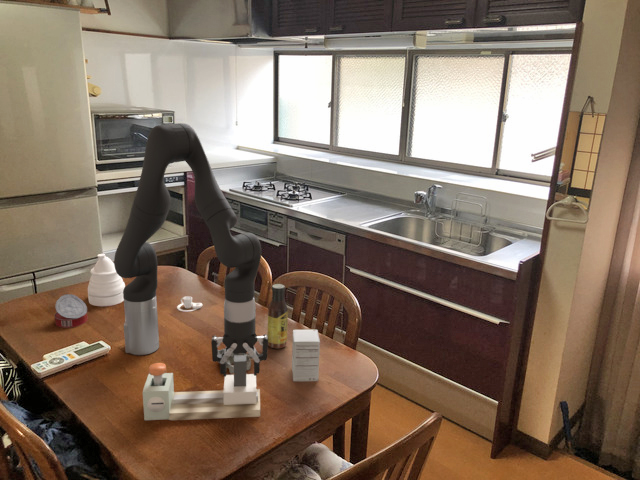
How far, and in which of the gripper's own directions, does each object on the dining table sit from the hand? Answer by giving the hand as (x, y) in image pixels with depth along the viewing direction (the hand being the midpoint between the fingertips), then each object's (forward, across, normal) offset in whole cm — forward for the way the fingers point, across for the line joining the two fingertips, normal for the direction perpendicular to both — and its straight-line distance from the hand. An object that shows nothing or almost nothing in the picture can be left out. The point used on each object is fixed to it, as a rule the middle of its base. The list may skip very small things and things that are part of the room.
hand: (240, 374), depth 131 cm
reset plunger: (+3, -20, 0) cm, 20 cm away
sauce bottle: (+10, +11, +32) cm, 35 cm away
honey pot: (+10, -50, +70) cm, 87 cm away
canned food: (+10, -57, +52) cm, 78 cm away
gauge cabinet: (+9, -20, 0) cm, 22 cm away
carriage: (+7, 0, 0) cm, 7 cm away
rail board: (+9, -6, 0) cm, 11 cm away
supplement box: (+10, +18, +14) cm, 25 cm away
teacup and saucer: (+10, -19, +59) cm, 63 cm away
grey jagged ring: (+10, -2, +21) cm, 23 cm away
